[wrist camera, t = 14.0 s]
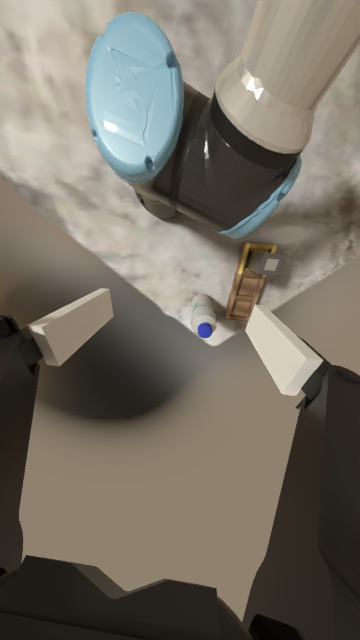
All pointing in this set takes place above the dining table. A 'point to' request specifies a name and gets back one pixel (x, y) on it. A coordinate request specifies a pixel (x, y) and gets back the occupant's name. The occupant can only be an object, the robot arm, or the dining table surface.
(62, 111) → the dining table surface
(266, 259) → the block
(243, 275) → the wooden compartment tray
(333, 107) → the dining table surface
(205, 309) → the bottle
